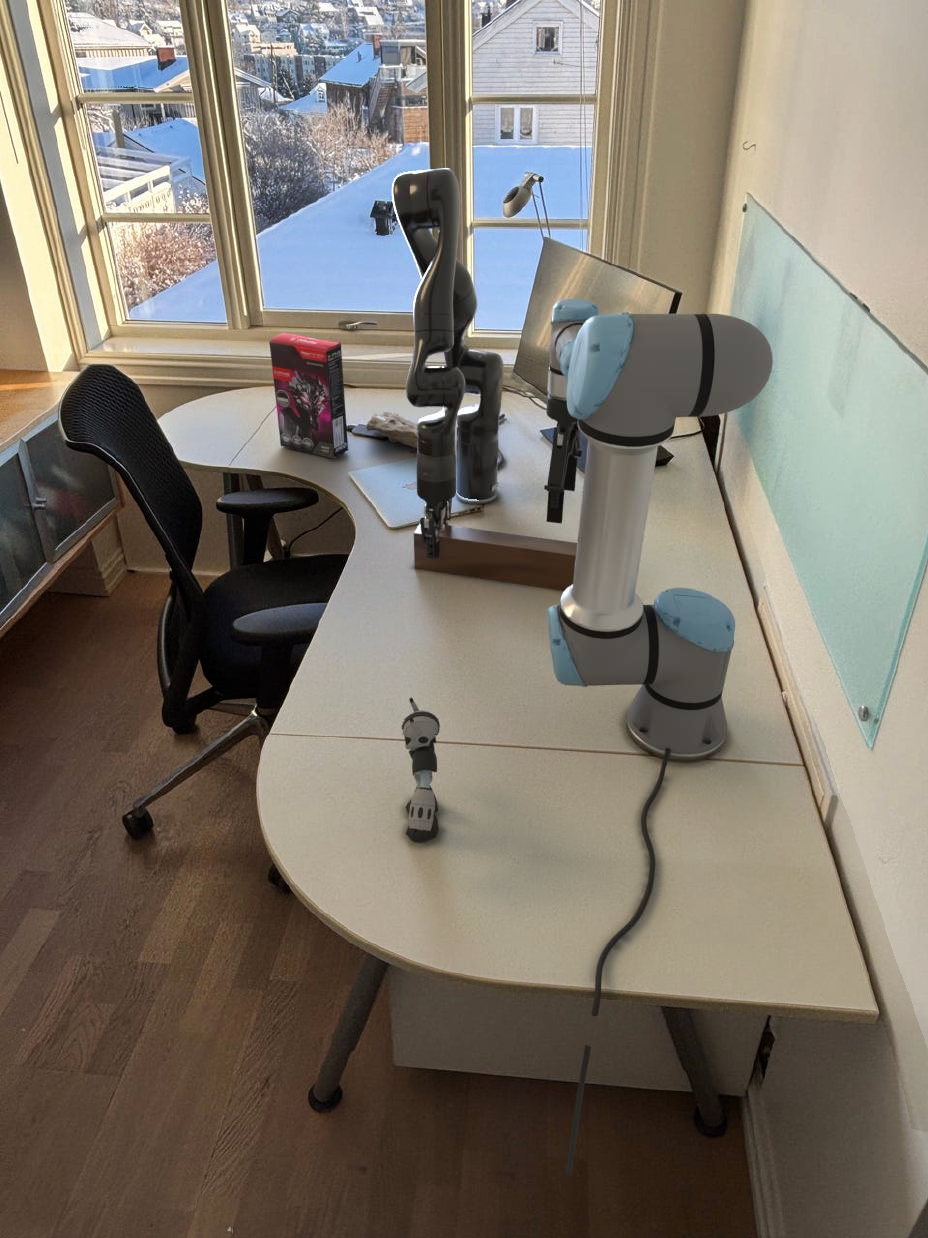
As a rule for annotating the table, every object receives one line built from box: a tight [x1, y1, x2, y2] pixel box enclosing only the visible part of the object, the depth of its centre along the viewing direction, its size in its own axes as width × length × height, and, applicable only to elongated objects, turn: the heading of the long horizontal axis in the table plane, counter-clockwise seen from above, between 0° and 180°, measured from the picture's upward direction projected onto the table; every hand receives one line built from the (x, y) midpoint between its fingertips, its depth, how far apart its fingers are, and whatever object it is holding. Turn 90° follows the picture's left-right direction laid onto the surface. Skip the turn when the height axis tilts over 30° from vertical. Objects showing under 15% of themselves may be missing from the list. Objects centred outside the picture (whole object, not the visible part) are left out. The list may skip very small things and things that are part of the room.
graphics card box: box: [268, 332, 349, 459], centre depth 224 cm, size 17×7×27 cm, turn 62°
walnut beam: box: [413, 523, 577, 592], centre depth 180 cm, size 5×32×8 cm, turn 75°
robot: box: [400, 697, 441, 843], centre depth 121 cm, size 20×5×20 cm, turn 3°
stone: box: [365, 411, 418, 449], centre depth 234 cm, size 21×15×6 cm
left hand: (437, 550), depth 183 cm, fingers closed on walnut beam, 5 cm apart
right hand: (561, 505), depth 170 cm, fingers open, 13 cm apart
